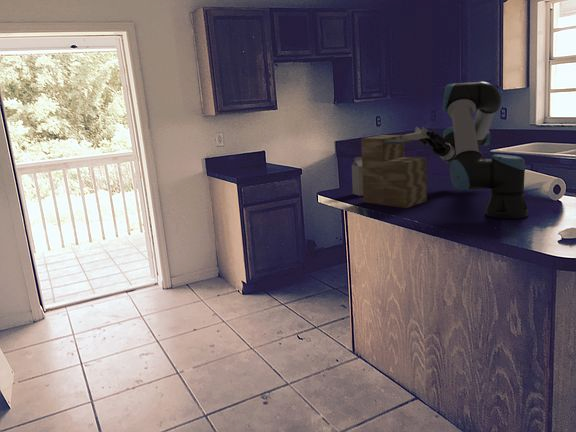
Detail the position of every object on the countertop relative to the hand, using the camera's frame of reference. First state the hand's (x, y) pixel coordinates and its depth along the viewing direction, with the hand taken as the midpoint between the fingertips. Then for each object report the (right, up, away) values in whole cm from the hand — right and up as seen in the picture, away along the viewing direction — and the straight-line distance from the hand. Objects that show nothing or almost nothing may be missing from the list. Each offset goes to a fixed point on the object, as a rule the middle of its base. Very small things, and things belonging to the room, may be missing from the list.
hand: (419, 129), depth 227 cm
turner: (-5, -6, -4) cm, 8 cm away
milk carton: (-22, -29, +27) cm, 45 cm away
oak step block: (-10, -33, +5) cm, 35 cm away
